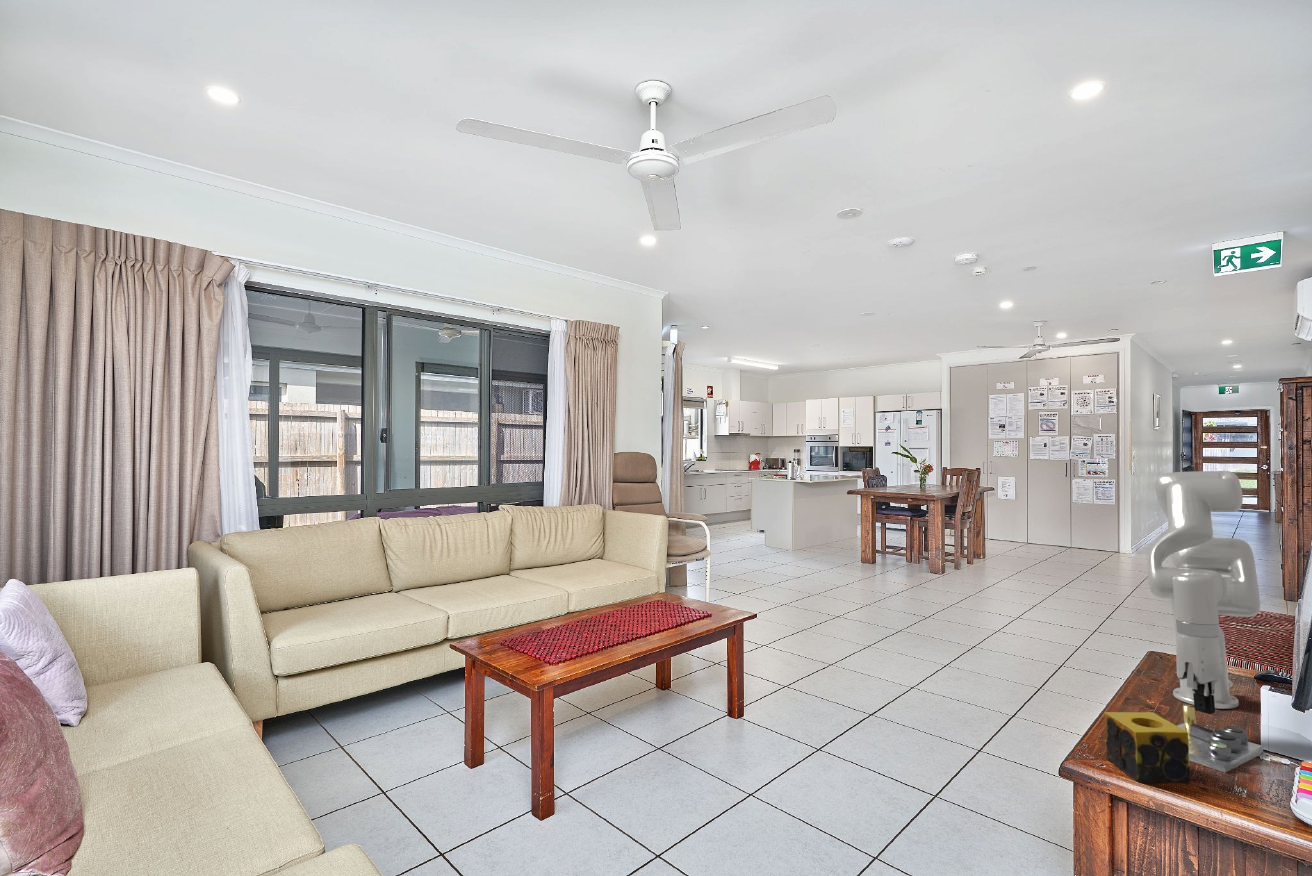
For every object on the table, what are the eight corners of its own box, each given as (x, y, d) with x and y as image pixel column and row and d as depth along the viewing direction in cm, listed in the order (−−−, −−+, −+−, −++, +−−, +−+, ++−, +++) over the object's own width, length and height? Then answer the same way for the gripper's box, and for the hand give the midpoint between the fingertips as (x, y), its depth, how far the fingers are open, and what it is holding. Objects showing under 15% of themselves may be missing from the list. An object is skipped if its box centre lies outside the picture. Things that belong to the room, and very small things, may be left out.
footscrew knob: (1247, 750, 130) (1245, 721, 130) (1228, 753, 129) (1225, 724, 129) (1195, 729, 140) (1193, 703, 141) (1177, 732, 139) (1174, 706, 140)
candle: (1105, 759, 132) (1101, 711, 133) (1157, 759, 131) (1152, 711, 132) (1137, 784, 122) (1133, 731, 123) (1193, 784, 121) (1188, 731, 122)
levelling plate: (1185, 729, 145) (1183, 711, 145) (1264, 752, 132) (1262, 732, 132) (1145, 746, 137) (1143, 727, 138) (1225, 772, 125) (1223, 751, 125)
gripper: (1194, 621, 149) (1201, 700, 148) (1160, 630, 143) (1167, 713, 142) (1234, 628, 143) (1242, 710, 142) (1200, 637, 136) (1208, 724, 135)
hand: (1204, 711), depth 142 cm, fingers closed
